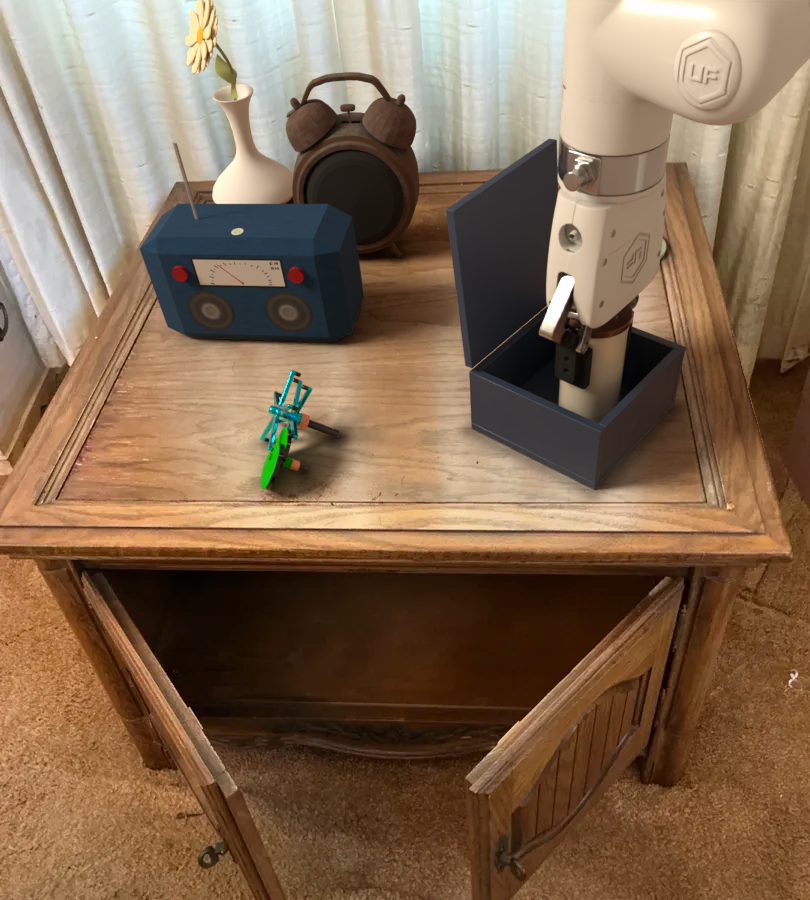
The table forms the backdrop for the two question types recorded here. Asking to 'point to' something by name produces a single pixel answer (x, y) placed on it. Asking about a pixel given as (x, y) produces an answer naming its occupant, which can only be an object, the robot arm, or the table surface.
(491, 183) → the lid
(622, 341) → the jar
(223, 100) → the flower in vase
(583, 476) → the chest
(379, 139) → the alarm clock
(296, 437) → the stick construction toy
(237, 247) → the radio
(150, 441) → the table surface
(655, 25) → the robot arm
